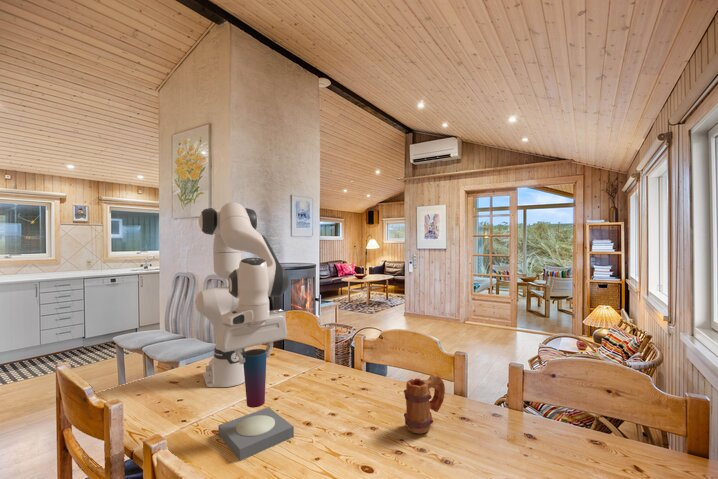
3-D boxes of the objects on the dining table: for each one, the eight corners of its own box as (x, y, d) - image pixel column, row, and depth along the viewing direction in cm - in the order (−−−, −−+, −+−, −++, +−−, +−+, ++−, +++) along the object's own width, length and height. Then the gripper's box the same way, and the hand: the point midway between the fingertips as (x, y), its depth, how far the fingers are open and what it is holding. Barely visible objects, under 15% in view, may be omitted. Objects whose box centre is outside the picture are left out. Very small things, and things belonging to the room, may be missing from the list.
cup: (261, 409, 96) (260, 356, 96) (239, 408, 97) (238, 355, 98) (271, 399, 103) (270, 349, 103) (250, 398, 104) (249, 348, 104)
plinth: (218, 435, 101) (218, 424, 101) (268, 416, 111) (268, 406, 111) (240, 460, 89) (240, 448, 89) (293, 436, 99) (293, 425, 99)
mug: (413, 440, 96) (412, 387, 97) (397, 427, 104) (396, 377, 104) (452, 427, 103) (452, 377, 103) (435, 415, 110) (434, 368, 111)
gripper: (280, 306, 110) (281, 349, 110) (215, 316, 96) (215, 366, 96) (290, 309, 105) (291, 354, 105) (223, 320, 91) (224, 372, 91)
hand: (254, 360), depth 100 cm, fingers closed on cup, 6 cm apart
